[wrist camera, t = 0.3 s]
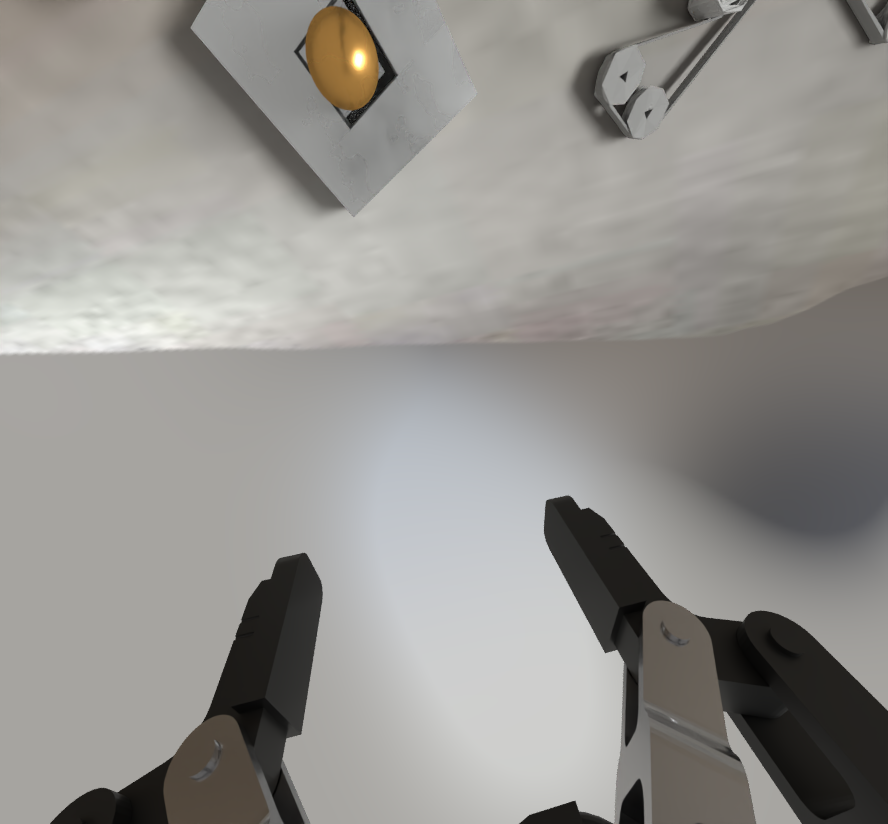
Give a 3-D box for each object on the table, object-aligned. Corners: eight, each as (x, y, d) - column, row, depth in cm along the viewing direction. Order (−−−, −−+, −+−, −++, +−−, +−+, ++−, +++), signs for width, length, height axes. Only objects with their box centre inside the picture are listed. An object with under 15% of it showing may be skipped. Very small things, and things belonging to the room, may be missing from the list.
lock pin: (309, 55, 21) (289, 50, 16) (347, 5, 20) (339, -20, 15) (351, 114, 24) (346, 127, 18) (387, 73, 22) (393, 73, 17)
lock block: (208, 32, 20) (190, 27, 18) (341, -185, 16) (336, -223, 14) (354, 206, 28) (353, 217, 26) (468, 92, 24) (477, 93, 22)
